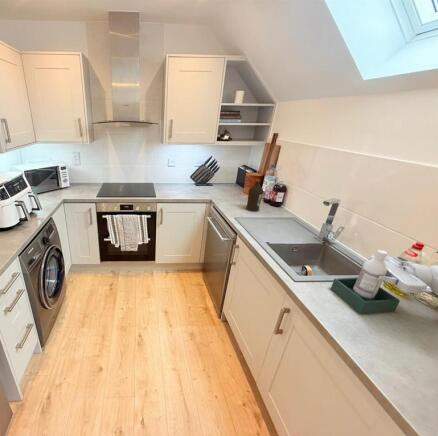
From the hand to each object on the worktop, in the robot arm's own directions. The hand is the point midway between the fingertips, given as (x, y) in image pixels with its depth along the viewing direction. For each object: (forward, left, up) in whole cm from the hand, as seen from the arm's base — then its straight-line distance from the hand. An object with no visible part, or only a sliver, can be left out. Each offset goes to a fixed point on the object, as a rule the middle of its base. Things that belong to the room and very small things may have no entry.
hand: (371, 270), depth 93 cm
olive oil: (-7, -104, -15) cm, 105 cm away
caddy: (-1, 0, -14) cm, 15 cm away
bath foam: (-1, 0, -11) cm, 11 cm away
